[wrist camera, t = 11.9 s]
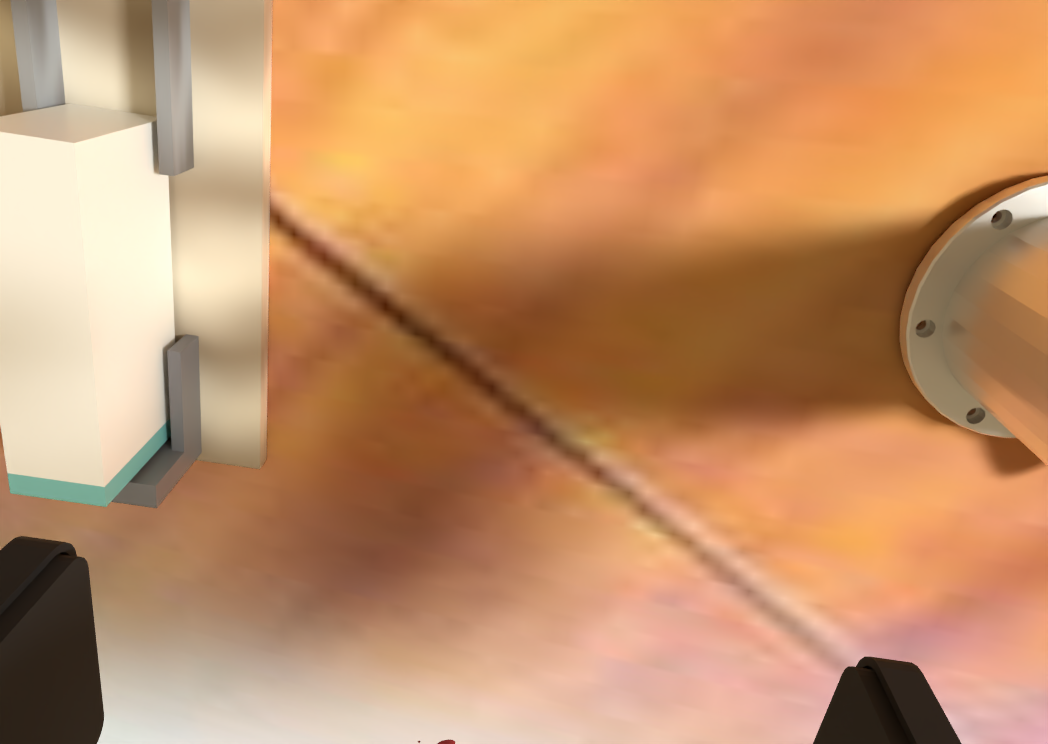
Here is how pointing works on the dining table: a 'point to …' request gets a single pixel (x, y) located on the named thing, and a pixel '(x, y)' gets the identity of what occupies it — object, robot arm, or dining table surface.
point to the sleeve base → (180, 164)
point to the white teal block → (83, 300)
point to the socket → (172, 431)
